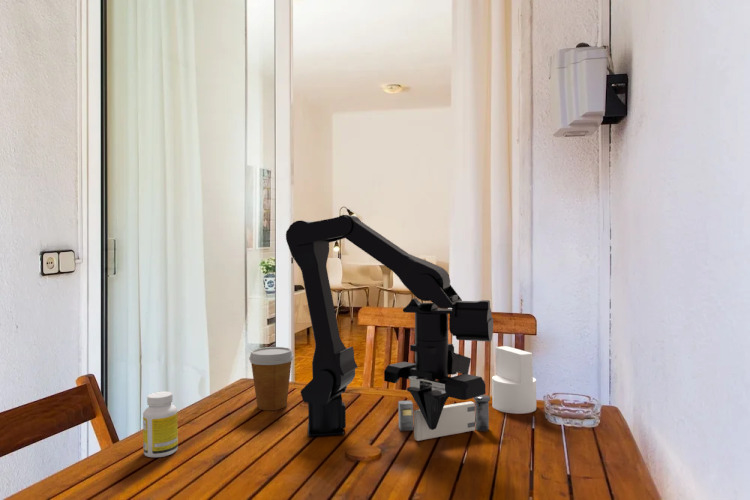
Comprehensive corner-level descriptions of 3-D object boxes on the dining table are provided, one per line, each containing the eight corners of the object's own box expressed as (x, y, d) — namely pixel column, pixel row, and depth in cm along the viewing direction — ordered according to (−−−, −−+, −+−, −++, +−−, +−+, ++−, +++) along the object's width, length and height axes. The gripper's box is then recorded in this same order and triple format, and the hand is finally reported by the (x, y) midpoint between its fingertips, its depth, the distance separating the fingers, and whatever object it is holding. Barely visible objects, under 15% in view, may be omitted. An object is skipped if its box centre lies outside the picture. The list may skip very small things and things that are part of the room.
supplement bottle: (184, 448, 92) (183, 391, 92) (162, 460, 87) (161, 400, 87) (159, 444, 94) (158, 389, 93) (136, 456, 88) (135, 397, 88)
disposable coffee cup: (258, 398, 120) (258, 346, 120) (299, 400, 119) (298, 346, 119) (242, 412, 111) (241, 355, 111) (286, 413, 110) (285, 355, 110)
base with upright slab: (483, 403, 115) (483, 348, 115) (517, 398, 118) (517, 344, 118) (510, 416, 106) (509, 356, 106) (545, 409, 110) (545, 352, 110)
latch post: (400, 431, 98) (400, 404, 98) (398, 427, 101) (398, 401, 101) (413, 431, 98) (413, 404, 98) (411, 426, 101) (410, 400, 101)
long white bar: (471, 428, 99) (470, 401, 99) (475, 430, 98) (474, 403, 98) (414, 438, 94) (413, 410, 94) (417, 440, 93) (417, 412, 93)
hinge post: (476, 432, 97) (476, 399, 97) (471, 426, 100) (471, 395, 100) (492, 431, 98) (492, 398, 98) (487, 425, 101) (486, 394, 101)
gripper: (504, 339, 91) (505, 431, 90) (423, 328, 104) (423, 408, 104) (463, 347, 83) (464, 447, 83) (381, 335, 97) (382, 420, 97)
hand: (432, 429), depth 92 cm, fingers closed
